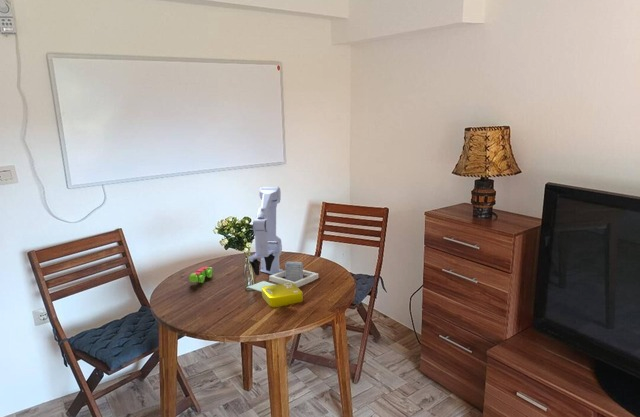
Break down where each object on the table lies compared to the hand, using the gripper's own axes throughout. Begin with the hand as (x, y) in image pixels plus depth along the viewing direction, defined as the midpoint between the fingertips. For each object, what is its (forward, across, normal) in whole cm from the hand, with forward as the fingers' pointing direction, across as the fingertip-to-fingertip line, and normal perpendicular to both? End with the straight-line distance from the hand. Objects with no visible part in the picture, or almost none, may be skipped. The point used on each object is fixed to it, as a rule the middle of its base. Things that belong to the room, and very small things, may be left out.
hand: (262, 272), depth 201 cm
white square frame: (+7, +16, -5) cm, 18 cm away
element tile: (+8, -4, -16) cm, 19 cm away
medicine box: (+7, +16, -5) cm, 18 cm away
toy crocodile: (+7, -11, +32) cm, 35 cm away
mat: (+7, 0, 0) cm, 7 cm away
